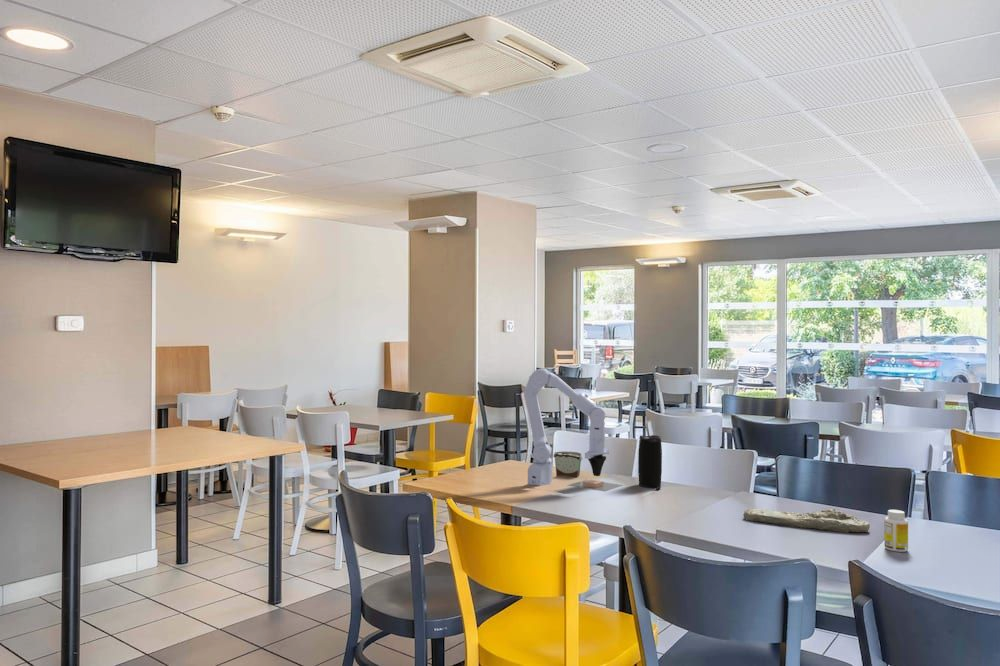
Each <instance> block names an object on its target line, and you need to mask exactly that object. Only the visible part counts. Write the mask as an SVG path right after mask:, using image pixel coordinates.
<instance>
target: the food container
mask: <svg viewBox="0 0 1000 666" xmlns="http://www.w3.org/2000/svg"><path fill="white" fill-rule="evenodd" d="M553 458H554V464H555V476H556V477H560V476H564V477H565V476H566V477H571V478H579V477H580V473H581V462H582V461H583V460H584V458H583V455H582V453H580V452H577V451H566V450H565V451H555V452H554V453H553Z"/></svg>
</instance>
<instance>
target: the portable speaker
mask: <svg viewBox="0 0 1000 666" xmlns="http://www.w3.org/2000/svg"><path fill="white" fill-rule="evenodd" d="M638 438H639V443H638V452H637V453H638V456H637V457H638V463H637V464H638V465H637V466H638V469H637V471H638V474H637V476H638V486H639V487H641V488H647V489H654V490H655V491H656V490H657V492H659V491H661V486H662V474H663V473H662V471H663V470H662V468H663V464H662V463H663V450H662V449H663V448H662V447H663V446H662V439H661V436H660V435H656V434H655V435H653V434H652V435H645V436H644V435H639V437H638Z"/></svg>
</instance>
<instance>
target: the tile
mask: <svg viewBox="0 0 1000 666" xmlns="http://www.w3.org/2000/svg"><path fill="white" fill-rule="evenodd" d="M586 480H587V481H584V482H583V486H586V487H593V488H597V487H601V486H603V485H604V482H605V481H602V480H596V479H586Z"/></svg>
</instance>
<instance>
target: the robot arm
mask: <svg viewBox="0 0 1000 666" xmlns="http://www.w3.org/2000/svg"><path fill="white" fill-rule="evenodd" d="M544 386H547V387H553V388H556V389H557V390H559V391H560V392H561V393H563V394H564V395H565V396H567V398H569V399H571V400H572V405H573V406H574V407H575V408H576V409H578V410H579V411H580V412H582V413H583V414H584V415H585V416H588V418H589V420H590V421H589V434H588V435H589V437H588V438H589V439H588V440H589V441H588V442H589V443H588V444H589V447H588V449H589V450H588V451H586V452H584V459H587V460H588V462H589V463H590V467H591V470H592V475H593V476H594V477H600V476H601V474H602V469H603V467H604V464H605V462H606V460H607V456H605V455H609V454H610V452H609V451H610V449H609V448H606V427H605V424H606V422H605V419H606V411H605V410H604V409H605V408H603V407H602V406H600V405H599V403H598V402H596V403H595V402H594V401H593V400H592V399H591V398H589V395H588V394H587V393H583V392H581V393H580V392H579V393H578V392H576V391H575V390H574V389H573V388H572V387H571V386H569V384H567V382H565V381H564V380H563V379H561V377H559V376H558V375H557V374H555V373H554V372H552V371H551V372H550V371H549V370H548V369H546V368H544V367H540V368H538V369H535V370H534V371H533V372H532V373H531V375H530V376H529V377H528V380H527V383H526V386H525V389H524V391H523V394H524V400H525V404H526V409H527V413H528V417H529V423H530V429H531V433H532V434H531V435H532V438H533V441H532V442H533V443H532V445H533V451H532V457H533V460H532V464H530V465H529V466H528V468H527V484H526V486H527V485H528V486H529V485H533V486H538V487H541V486H546V485H551V484H552V483H553V460H552V459H551V458H550V457H551V455H552V454H553V450H552V449H553V448H552V446H551V445H550V443H549V441H548V437H547V435H546V431H545V426H544V422H543V417H542V416H543V415H542V411H541V406H540V402H539V397H538V394H539V392H540V391H541V390H542V388H543V387H544Z"/></svg>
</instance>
